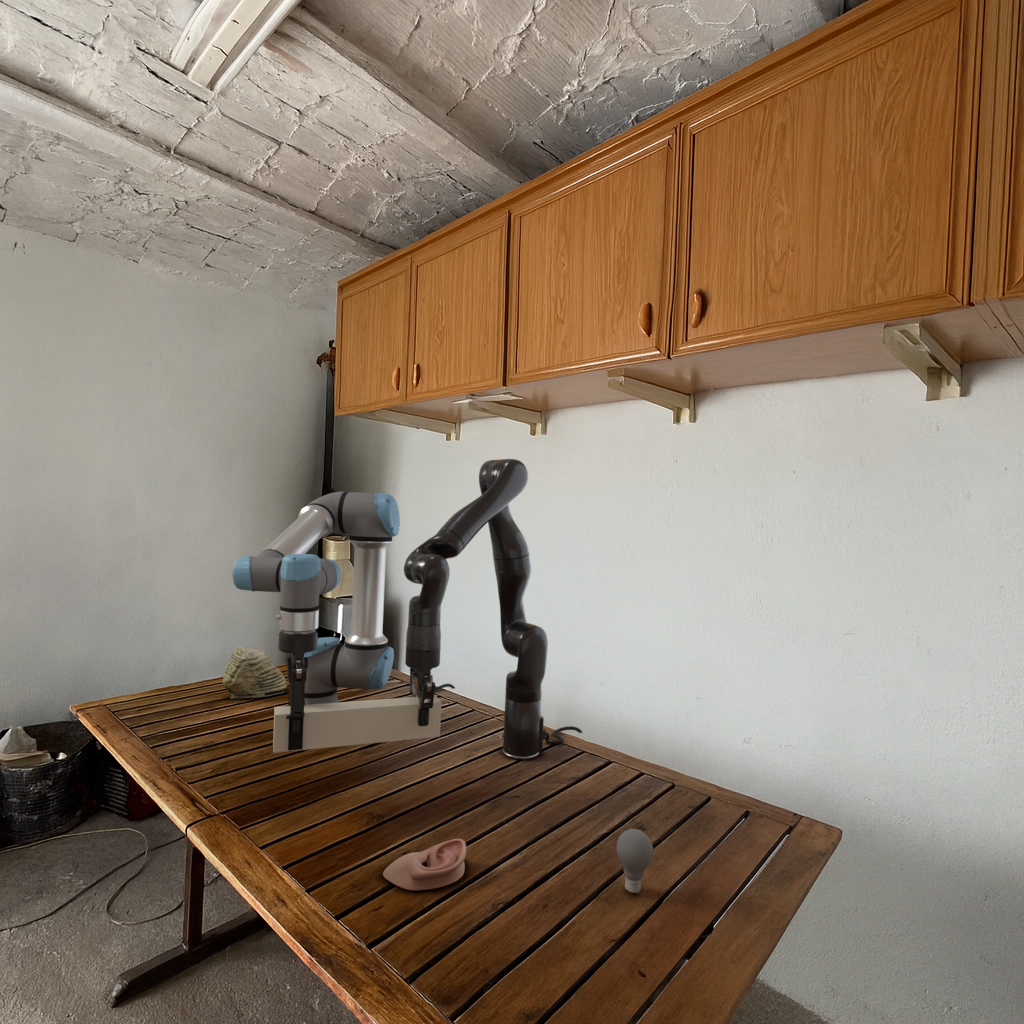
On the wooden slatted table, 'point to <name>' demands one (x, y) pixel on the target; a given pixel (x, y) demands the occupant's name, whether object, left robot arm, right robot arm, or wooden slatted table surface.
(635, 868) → the light bulb
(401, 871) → the anatomical model
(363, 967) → the wooden slatted table surface
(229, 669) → the fossil
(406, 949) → the wooden slatted table surface
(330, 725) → the beam
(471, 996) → the wooden slatted table surface
